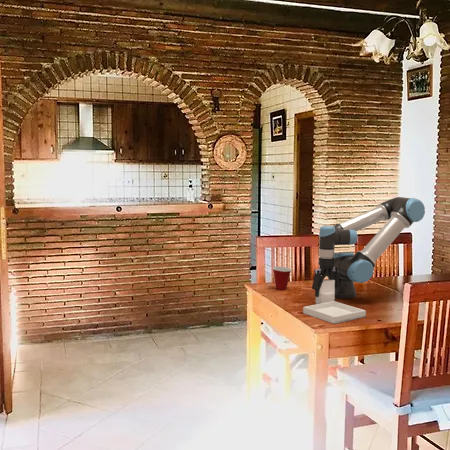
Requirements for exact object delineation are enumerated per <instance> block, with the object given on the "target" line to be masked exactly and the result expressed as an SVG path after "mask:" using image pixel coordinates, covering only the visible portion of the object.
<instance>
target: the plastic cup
mask: <svg viewBox="0 0 450 450" xmlns="http://www.w3.org/2000/svg"><path fill="white" fill-rule="evenodd" d="M272 270H273V277H274V284H275V288H276V290H277V289H278V291H286V290H287V287H288V283H289V279H290V274H291V272H292V271H293V269H292V268H290V267H286V266H273V267H272ZM285 289H286V290H285Z"/></svg>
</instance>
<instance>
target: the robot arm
mask: <svg viewBox="0 0 450 450" xmlns="http://www.w3.org/2000/svg"><path fill="white" fill-rule="evenodd" d="M425 208H426V207H425V205H424V203H423V202H422V200H420V199H418V198H415V197H403V196H402V197H401V196H398V197H393V198H390V199H388V200H385V201H383V202H381V203H378V204H377V205H376V207H373V208H372V209H369V210H367V211H365V212H363V213H359V214H358V215H356V216H353V217H351V218H349V219H346V220H344V221H342V222H339V223H337V224H335V225H322V226H320V227H319V232H318V233H319V235H318V236H319V237H318V238H319V240H318V241H319V242H318V244H319V245H318V256H319V257H318V265H319V268H318V269H315V268H314V273H313V274H314V275H313V280H312V284H311V285H312V286H311V289H312V290H314V297H315V304H316V303H318V304H321V291H320V288H321V285H322V282H323V280H325V278H326V277H327V279H330V280H335V290H334V292H335V297H334V301H335V302H336V300H335V299H354V298H356V296H357V290H356V288H355V283H359V284H362V283H363V284H364V283H366V282H368V281H370V280H371V279H372V278H373V275H374V268H375V267H376V261H377V260H378V259H379V258H380V257H381V255H383V253H384V252H385V251H386V250H387V249H388V247H390V245H391V244H392V243H393V242H394V241H395V239H396V238H397V237H399V235H400V234H401V233H402V232H403V230H404V229H408V228H410V227H411V226H412V225H413V224H414V223H418V222H420V221H421V220H423V218H424V217H425V213H426V211H425ZM381 221H383V222H386V221H387V222H386V223H384V225H383V226H381V228H380V229H379V230H378V232H377V233H375V234H374V237H372V238H371V240H370V241H369V242H368V243H367V244H366V245H365V246H364V248H363V249H361V250H357V251H356V252H355V253H354V252H335V246H345V245H346V246H347V245H348V246H350V245H355V244H356V243H357V242H358V232H359V231H361V230H363V229H365V228H367V227H370V226H372V225H375V224H377V223H379V222H381ZM317 287H318V288H317Z"/></svg>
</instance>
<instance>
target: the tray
mask: <svg viewBox="0 0 450 450" xmlns="http://www.w3.org/2000/svg"><path fill="white" fill-rule="evenodd" d="M302 310H303V311H302V313H303V314H305V315H307V316H311V317H313V318H316V319H319V320H322V321H325V322H328V323H331V324H334V325H335V324H340V323H344V322H349V321H354V320H357V319H358V318H359V319H362V318H366V314H367V311H366V309H362V308H358V307H355V306H352V305H348V304H345V303H342V302H338V301H336V300H335V301H332V302H327V303H321V304H316V303H315V304H312V305H307V306H303V309H302Z"/></svg>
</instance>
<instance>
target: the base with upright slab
mask: <svg viewBox="0 0 450 450" xmlns="http://www.w3.org/2000/svg"><path fill="white" fill-rule="evenodd" d="M317 288H318V287H317ZM334 290H335V280H330V279H328V278H326V279H324V280H323V282H322V285H321V288H320V291H321V303H327V302H332V301H334V297H335V292H334ZM316 304H318V303H316V302H315V305H316Z"/></svg>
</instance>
